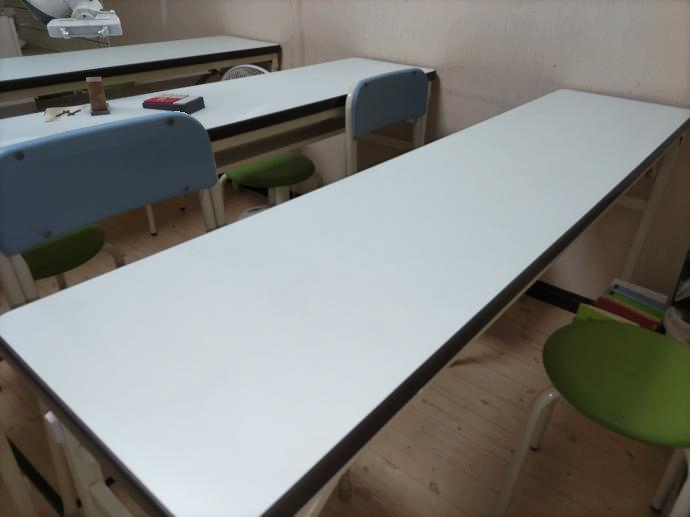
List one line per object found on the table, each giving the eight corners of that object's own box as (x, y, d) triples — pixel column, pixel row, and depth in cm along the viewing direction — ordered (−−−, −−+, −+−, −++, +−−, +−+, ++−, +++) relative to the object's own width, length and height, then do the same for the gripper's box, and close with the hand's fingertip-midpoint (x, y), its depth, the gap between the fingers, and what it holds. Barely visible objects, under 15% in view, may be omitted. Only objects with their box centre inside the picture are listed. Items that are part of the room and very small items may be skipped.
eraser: (91, 116, 146) (84, 83, 141) (91, 107, 154) (84, 75, 149) (110, 115, 148) (103, 82, 143) (109, 106, 155) (103, 75, 151)
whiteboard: (42, 127, 140) (41, 122, 139) (46, 111, 152) (45, 107, 152) (120, 121, 147) (119, 117, 146) (118, 107, 159) (117, 103, 159)
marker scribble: (55, 116, 144) (55, 115, 144) (56, 111, 149) (56, 110, 149) (80, 115, 147) (80, 114, 147) (81, 110, 151) (80, 109, 151)
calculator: (162, 92, 162) (203, 93, 158) (165, 106, 164) (205, 108, 160) (140, 100, 153) (183, 102, 149) (143, 114, 155) (186, 116, 151)
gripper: (47, 11, 153) (40, 25, 143) (119, 9, 158) (118, 22, 148) (53, 33, 157) (48, 48, 147) (124, 31, 162) (123, 45, 152)
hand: (84, 35), depth 147 cm, fingers open, 8 cm apart
